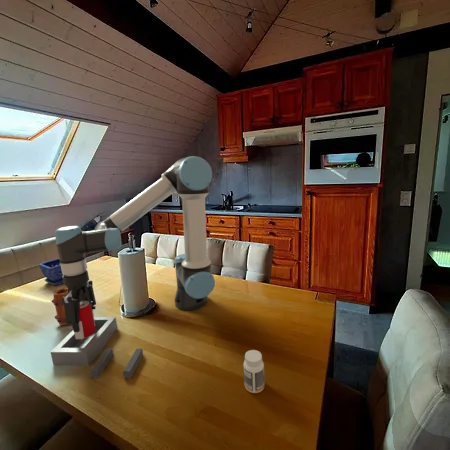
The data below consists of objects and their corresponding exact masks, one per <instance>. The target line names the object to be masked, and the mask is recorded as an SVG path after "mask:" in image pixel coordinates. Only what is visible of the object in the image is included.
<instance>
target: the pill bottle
mask: <svg viewBox="0 0 450 450" xmlns="http://www.w3.org/2000/svg"><path fill="white" fill-rule="evenodd" d="M242 365H243V378H244V379H243V384H244V387H245V389H246V391H248V392H249V393H252V394H258V393H261V392H262V391H263V390H264V389H265V363H264V361H263V355H262V353H261V351H258V350H256V349H251V350H248V351H246V352H245V354H244V361H243V364H242Z"/></svg>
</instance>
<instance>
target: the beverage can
mask: <svg viewBox="0 0 450 450" xmlns="http://www.w3.org/2000/svg"><path fill="white" fill-rule="evenodd" d="M93 314H94V312H93V313H92V307H91V304H90V303H89V301H81V302H80V320H79V321H82V327H83V333H84V338H88V337H90V336H91V335H92V334H94V332H95V324H94V319H93Z"/></svg>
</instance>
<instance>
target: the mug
mask: <svg viewBox="0 0 450 450" xmlns="http://www.w3.org/2000/svg"><path fill="white" fill-rule="evenodd" d="M67 295H68V288H67V287H65V288H64V287H63V288H60V289H59V290H55V291H54V293H53V299H52V300H50V301H51V303H52V304H53V305H54V306H55V311H56V315H54V319H56V321H57V323H58V324H59V325H60V326H68V325H67V324H66V316H65V309H64V303H63V301H62V297H66V296H67ZM74 300H78V299H74Z"/></svg>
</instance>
